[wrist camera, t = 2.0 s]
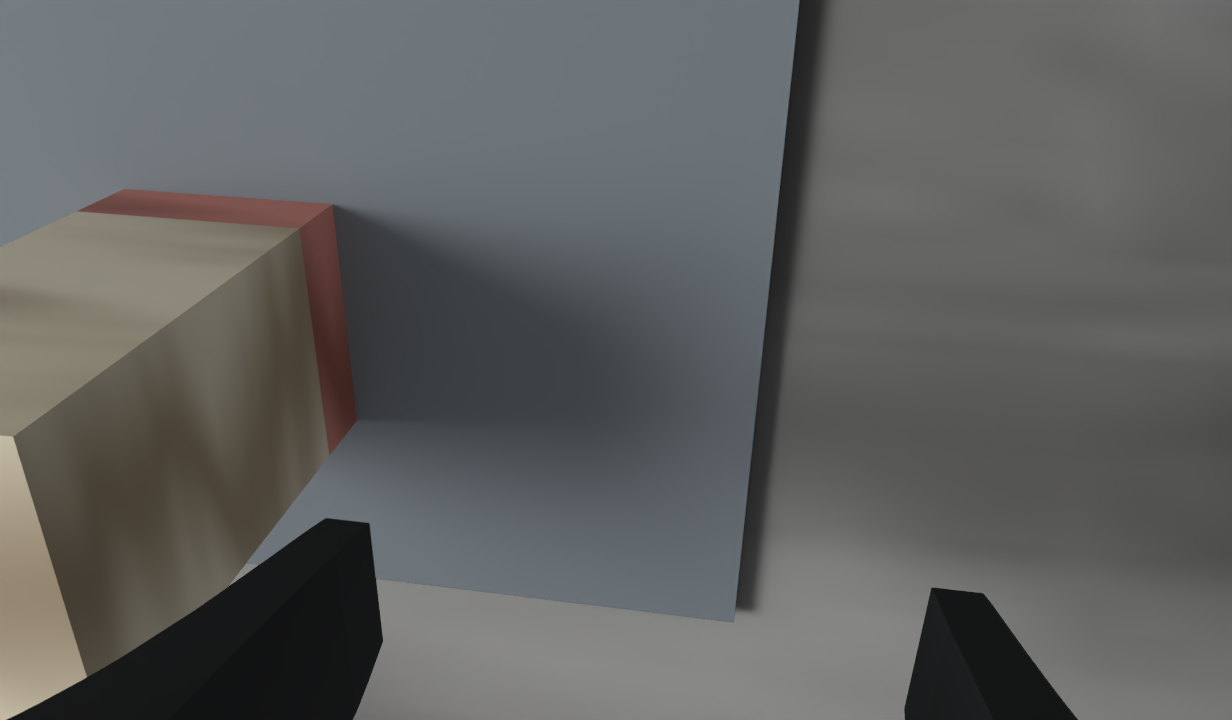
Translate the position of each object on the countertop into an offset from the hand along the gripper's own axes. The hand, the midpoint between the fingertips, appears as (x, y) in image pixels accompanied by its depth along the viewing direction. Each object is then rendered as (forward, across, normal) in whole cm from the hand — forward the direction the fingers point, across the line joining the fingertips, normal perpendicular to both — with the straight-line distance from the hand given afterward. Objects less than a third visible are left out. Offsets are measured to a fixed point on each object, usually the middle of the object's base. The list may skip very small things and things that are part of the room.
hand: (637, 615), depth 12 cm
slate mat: (+8, +10, -1) cm, 13 cm away
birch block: (+8, +10, 0) cm, 12 cm away
